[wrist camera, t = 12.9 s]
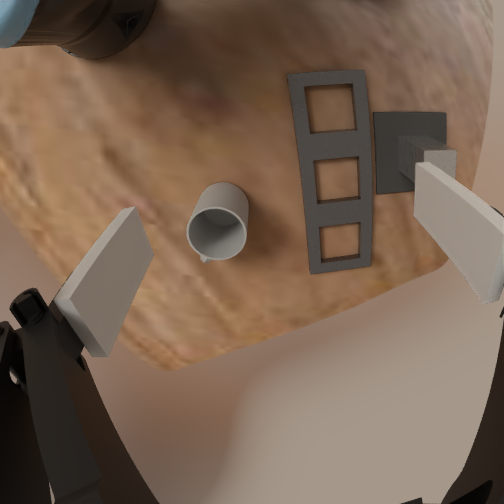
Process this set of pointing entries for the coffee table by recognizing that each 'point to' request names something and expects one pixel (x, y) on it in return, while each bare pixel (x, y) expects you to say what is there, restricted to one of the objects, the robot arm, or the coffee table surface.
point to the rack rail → (329, 148)
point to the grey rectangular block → (425, 155)
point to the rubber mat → (387, 144)
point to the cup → (219, 222)
